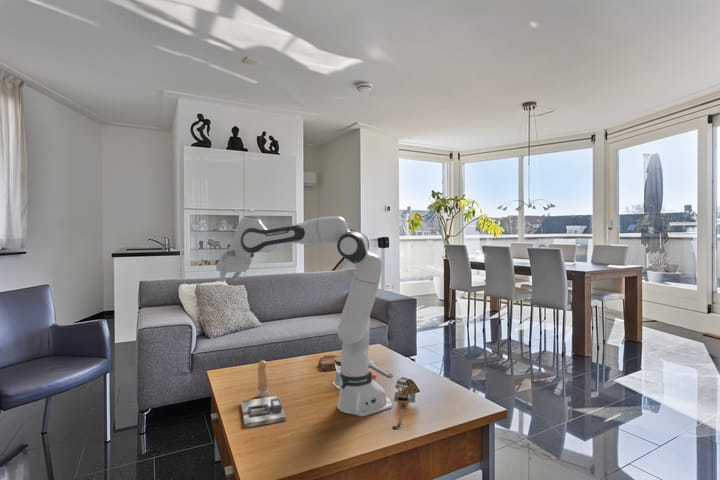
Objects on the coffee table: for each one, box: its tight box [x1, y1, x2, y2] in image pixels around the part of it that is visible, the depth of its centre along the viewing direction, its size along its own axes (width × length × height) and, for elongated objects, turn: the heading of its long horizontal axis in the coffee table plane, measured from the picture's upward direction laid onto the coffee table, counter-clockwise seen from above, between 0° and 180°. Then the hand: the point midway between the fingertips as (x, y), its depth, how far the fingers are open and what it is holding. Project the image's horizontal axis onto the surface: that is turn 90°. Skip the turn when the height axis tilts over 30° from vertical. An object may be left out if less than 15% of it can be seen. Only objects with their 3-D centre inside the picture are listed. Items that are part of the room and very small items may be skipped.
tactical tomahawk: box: [392, 402, 407, 430], centre depth 149 cm, size 21×7×1 cm, turn 166°
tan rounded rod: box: [257, 359, 268, 398], centre depth 168 cm, size 4×4×15 cm
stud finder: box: [271, 397, 282, 413], centre depth 153 cm, size 3×7×2 cm, turn 21°
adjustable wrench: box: [368, 359, 394, 378], centre depth 200 cm, size 25×6×2 cm, turn 27°
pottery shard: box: [318, 354, 340, 372], centre depth 207 cm, size 16×16×4 cm
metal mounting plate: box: [240, 395, 287, 429], centre depth 153 cm, size 15×20×2 cm
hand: (227, 280), depth 166 cm, fingers open, 8 cm apart
